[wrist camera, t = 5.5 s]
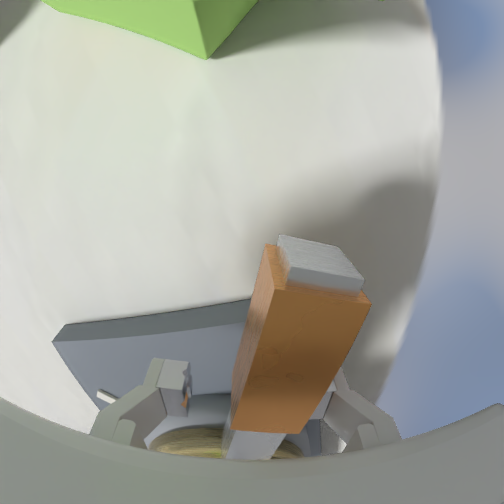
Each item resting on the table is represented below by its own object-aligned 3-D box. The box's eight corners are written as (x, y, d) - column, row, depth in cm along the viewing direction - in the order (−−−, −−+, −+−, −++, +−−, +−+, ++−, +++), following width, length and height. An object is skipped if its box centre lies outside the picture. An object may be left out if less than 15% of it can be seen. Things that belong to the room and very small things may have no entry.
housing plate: (318, 459, 23) (324, 489, 19) (176, 470, 24) (172, 498, 20) (303, 288, 15) (320, 334, 11) (65, 324, 16) (37, 360, 12)
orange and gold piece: (278, 489, 18) (281, 527, 14) (152, 475, 17) (145, 514, 13) (427, 263, 10) (490, 319, 6) (144, 203, 9) (79, 249, 5)
